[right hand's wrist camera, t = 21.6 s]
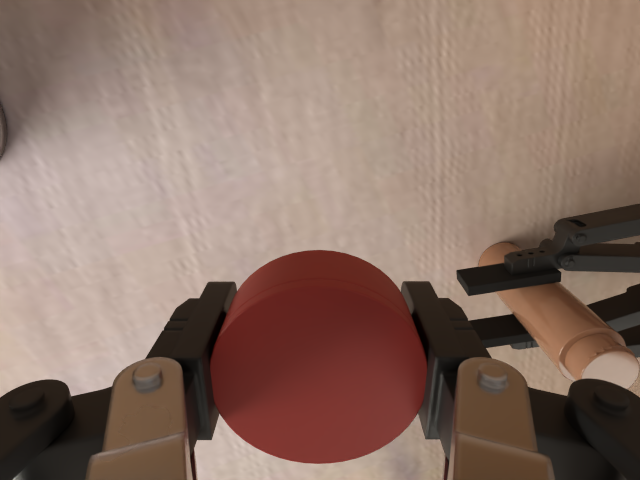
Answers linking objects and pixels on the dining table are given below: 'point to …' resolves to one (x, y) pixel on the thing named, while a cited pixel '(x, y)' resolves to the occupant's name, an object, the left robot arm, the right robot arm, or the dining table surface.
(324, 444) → the lid
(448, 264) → the dining table surface
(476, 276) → the left robot arm
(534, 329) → the cylinder
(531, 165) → the dining table surface
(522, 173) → the dining table surface
